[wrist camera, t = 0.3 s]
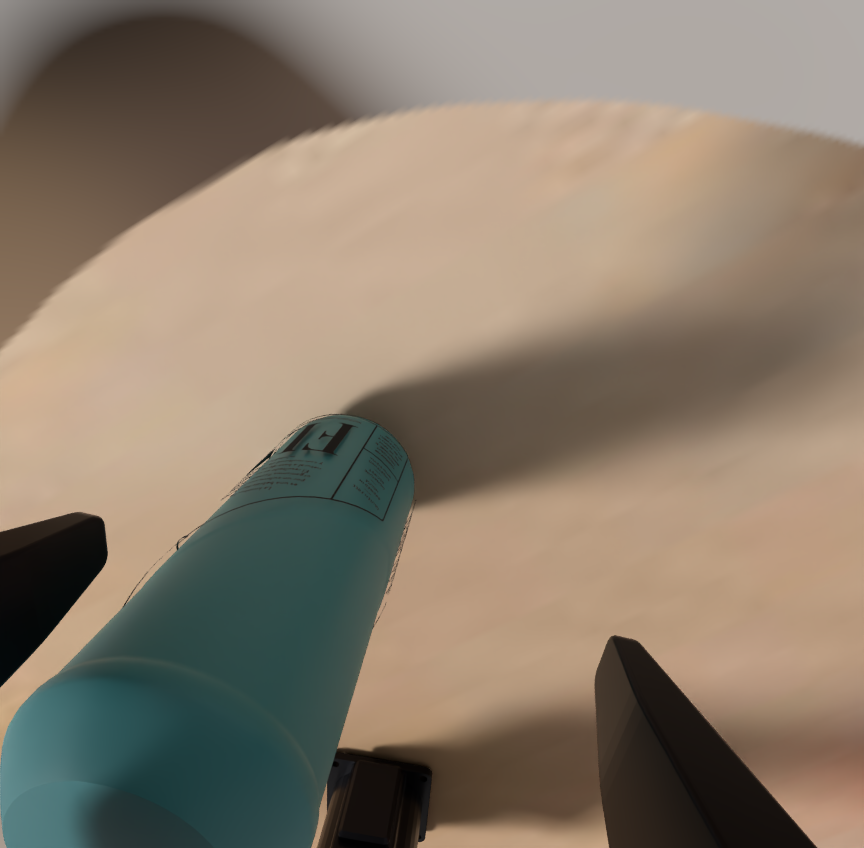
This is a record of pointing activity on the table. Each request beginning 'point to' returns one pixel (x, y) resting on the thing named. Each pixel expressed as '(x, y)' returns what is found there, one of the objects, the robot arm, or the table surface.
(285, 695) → the beverage bottle
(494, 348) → the table surface
